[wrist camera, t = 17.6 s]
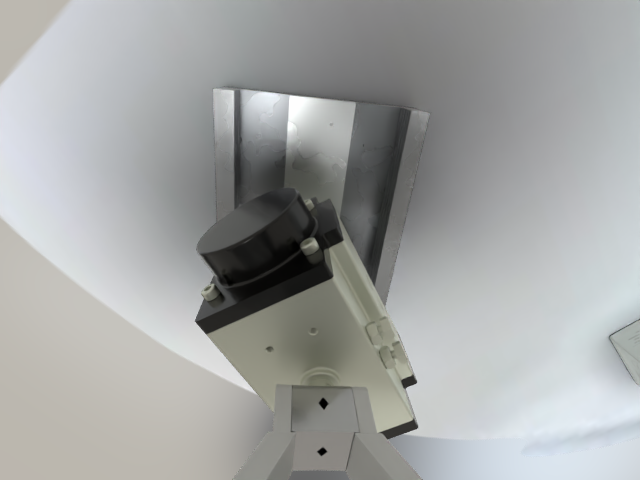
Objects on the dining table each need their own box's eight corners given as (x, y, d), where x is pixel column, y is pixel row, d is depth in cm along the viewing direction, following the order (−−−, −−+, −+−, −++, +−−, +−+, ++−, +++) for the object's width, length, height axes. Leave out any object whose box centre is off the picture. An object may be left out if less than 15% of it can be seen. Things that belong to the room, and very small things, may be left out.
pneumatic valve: (318, 321, 25) (333, 510, 14) (230, 184, 20) (151, 312, 9) (387, 291, 24) (460, 468, 13) (314, 141, 19) (334, 226, 8)
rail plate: (224, 86, 19) (212, 88, 16) (412, 107, 20) (430, 112, 17) (228, 323, 26) (220, 351, 24) (365, 329, 27) (373, 357, 25)
